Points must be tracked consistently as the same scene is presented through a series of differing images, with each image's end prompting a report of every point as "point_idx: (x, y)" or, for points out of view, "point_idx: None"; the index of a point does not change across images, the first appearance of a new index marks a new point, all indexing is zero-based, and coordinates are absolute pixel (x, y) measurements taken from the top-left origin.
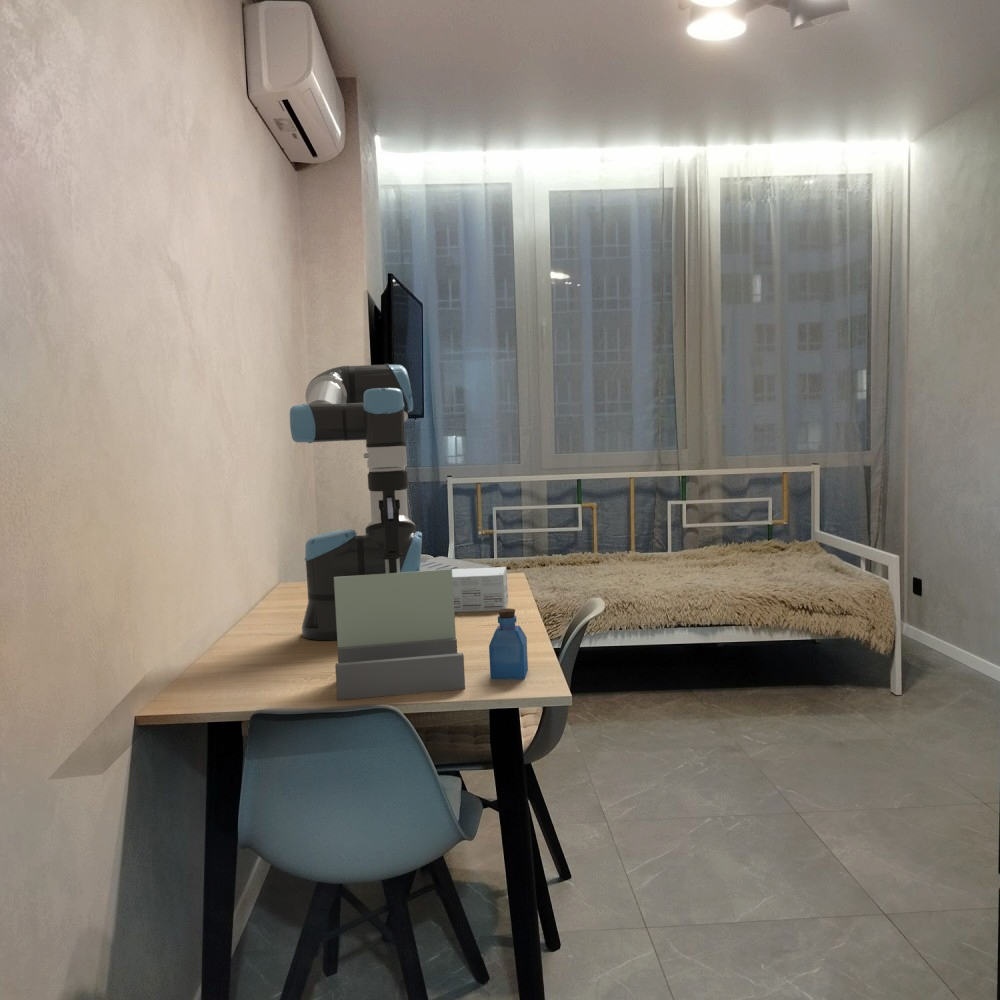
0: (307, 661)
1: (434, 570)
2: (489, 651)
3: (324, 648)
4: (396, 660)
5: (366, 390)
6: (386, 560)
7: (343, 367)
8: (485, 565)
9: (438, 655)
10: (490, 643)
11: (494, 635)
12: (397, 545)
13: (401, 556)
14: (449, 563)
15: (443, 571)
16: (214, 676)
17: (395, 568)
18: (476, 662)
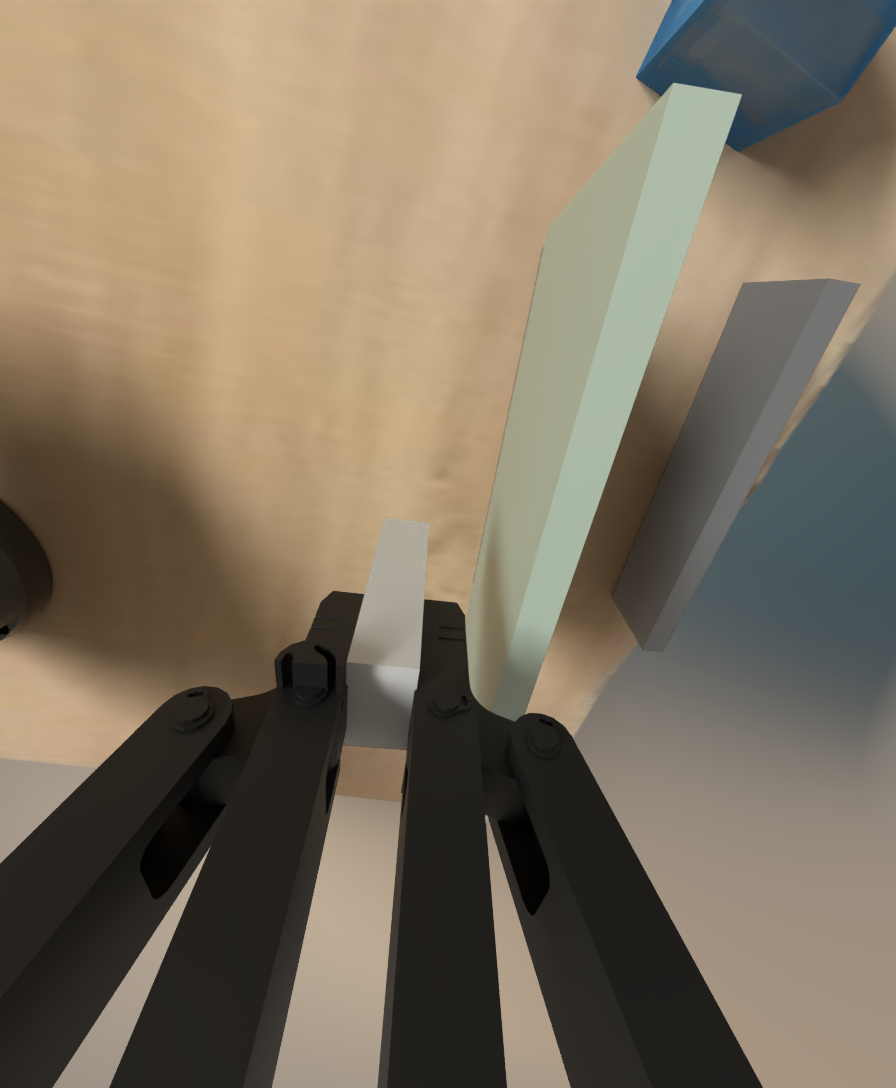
0: (278, 629)
1: (647, 344)
2: (821, 110)
3: (146, 589)
4: (732, 519)
5: None
6: (407, 736)
7: None
8: None
9: (784, 383)
10: (852, 84)
11: (893, 25)
12: (622, 848)
13: (331, 649)
14: None
15: (687, 235)
16: (343, 757)
17: (463, 646)
18: (487, 129)
